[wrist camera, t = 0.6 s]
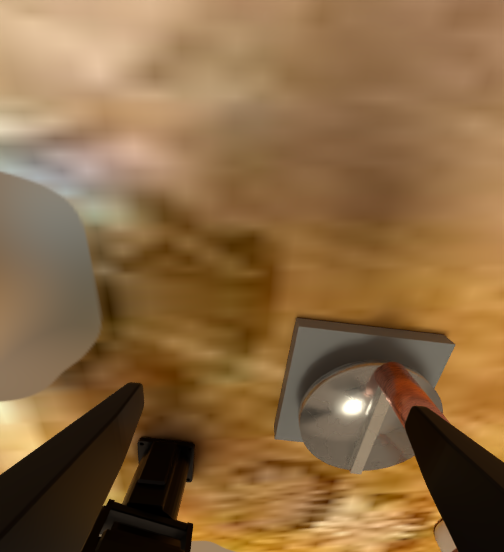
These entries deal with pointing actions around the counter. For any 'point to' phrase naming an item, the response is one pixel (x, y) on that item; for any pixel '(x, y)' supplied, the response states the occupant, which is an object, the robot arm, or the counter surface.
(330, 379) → the handwheel
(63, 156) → the counter surface
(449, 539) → the milk bottle
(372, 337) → the base plate
